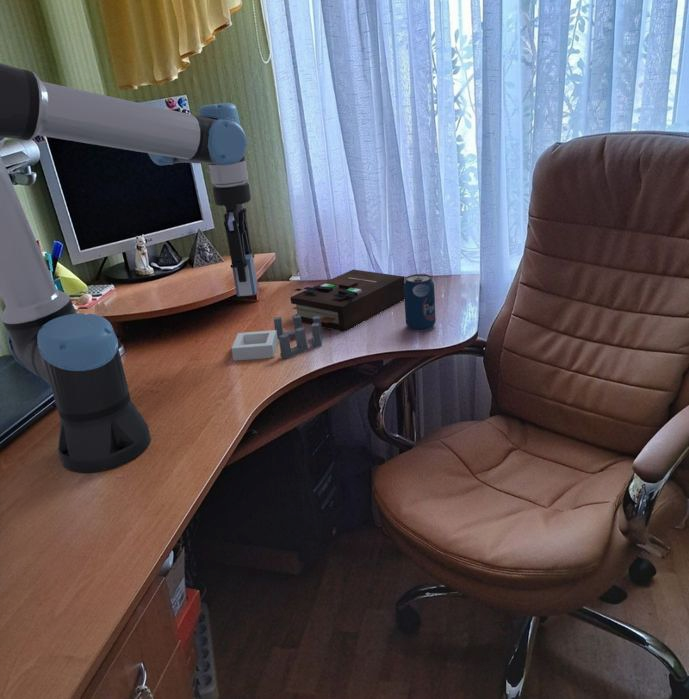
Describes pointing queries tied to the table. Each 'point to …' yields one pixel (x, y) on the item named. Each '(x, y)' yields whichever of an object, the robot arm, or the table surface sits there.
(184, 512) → the table surface
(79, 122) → the robot arm
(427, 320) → the soda can
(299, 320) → the clip
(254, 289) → the connector
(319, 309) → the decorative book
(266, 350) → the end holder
